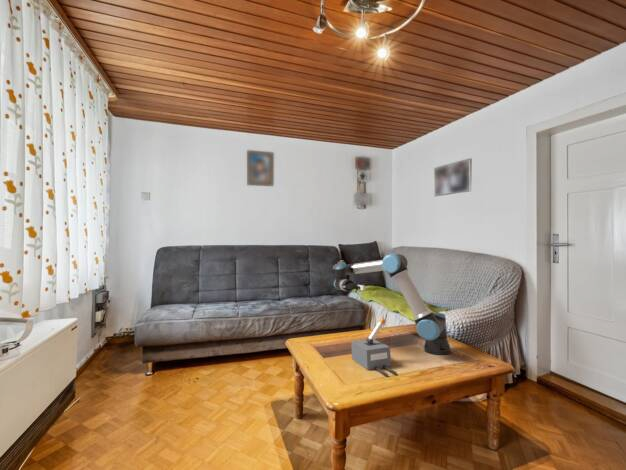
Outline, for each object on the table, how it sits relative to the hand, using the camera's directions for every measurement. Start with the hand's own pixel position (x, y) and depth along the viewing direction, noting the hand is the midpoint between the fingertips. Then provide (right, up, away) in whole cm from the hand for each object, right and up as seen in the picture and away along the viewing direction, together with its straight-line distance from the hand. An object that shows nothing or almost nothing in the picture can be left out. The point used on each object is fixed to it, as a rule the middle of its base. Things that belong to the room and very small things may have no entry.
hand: (364, 288), depth 169 cm
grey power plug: (+3, -38, -18) cm, 42 cm away
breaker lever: (0, -28, -12) cm, 30 cm away
